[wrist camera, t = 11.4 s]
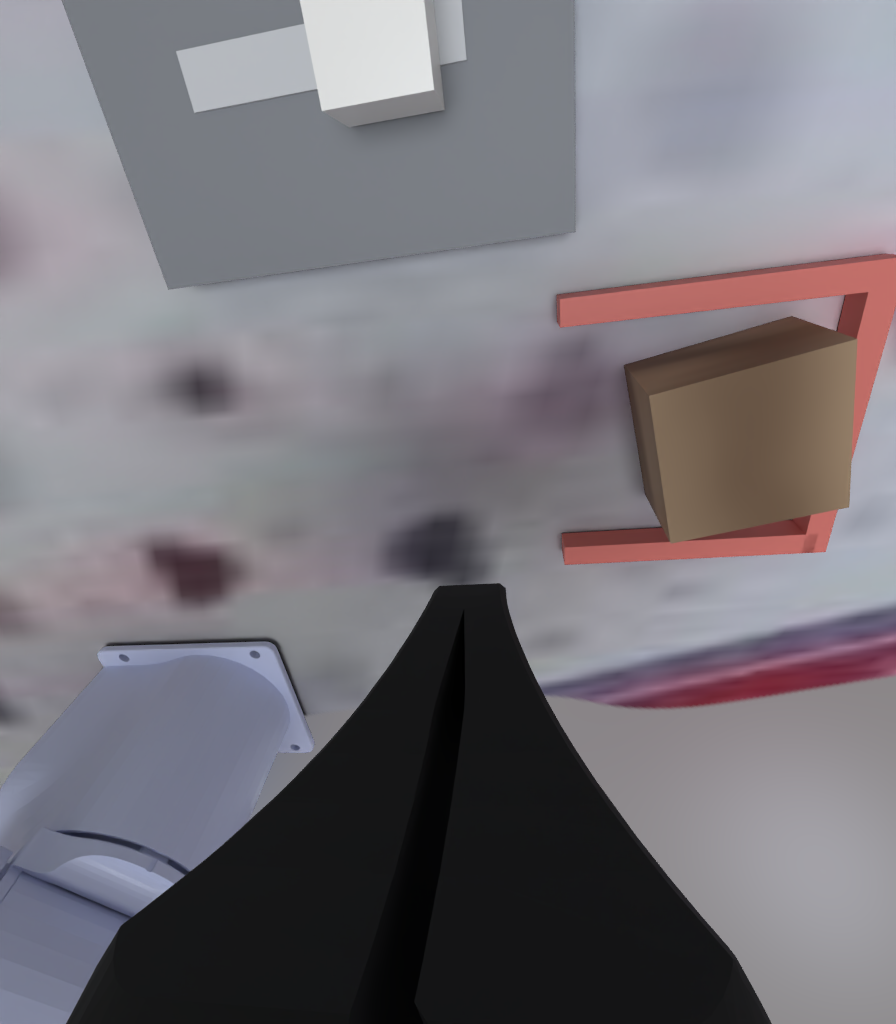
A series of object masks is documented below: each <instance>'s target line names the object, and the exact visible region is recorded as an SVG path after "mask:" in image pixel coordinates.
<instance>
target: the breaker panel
mask: <svg viewBox="0 0 896 1024" xmlns="http://www.w3.org/2000/svg"><path fill="white" fill-rule="evenodd" d="M62 3H63V5H64V8H65V11H66V13H67V16H68V19H69V22H70V24H71V27H72V30H73V32H74V35H75V38H76V41H77V43H78V46H79V49H80V51H81V54H82V57H83V60H84V62H85V65H86V68H87V70H88V73H89V76H90V78H91V81H92V84H93V87H94V89H95V92H96V95H97V97H98V100H99V103H100V106H101V108H102V111H103V114H104V116H105V119H106V122H107V125H108V127H109V130H110V133H111V135H112V138H113V141H114V144H115V146H116V149H117V152H118V154H119V157H120V160H121V163H122V165H123V168H124V171H125V173H126V176H127V179H128V181H129V184H130V187H131V190H132V192H133V195H134V198H135V200H136V203H137V206H138V209H139V211H140V214H141V217H142V219H143V222H144V225H145V228H146V230H147V233H148V236H149V238H150V241H151V244H152V247H153V249H154V252H155V255H156V257H157V260H158V263H159V266H160V268H161V271H162V274H163V276H164V279H165V282H166V284H167V287H168V290H169V289H176V288H183V287H190V286H197V285H204V284H211V283H218V282H225V281H232V280H240V279H247V278H254V277H261V276H268V275H275V274H282V273H289V272H296V271H303V270H310V269H317V268H324V267H332V266H339V265H346V264H353V263H360V262H367V261H374V260H381V259H388V258H395V257H402V256H409V255H416V254H423V253H431V252H438V251H445V250H452V249H459V248H466V247H473V246H480V245H487V244H494V243H501V242H508V241H515V240H523V239H530V238H537V237H544V236H551V235H558V234H565V233H572V232H575V5H574V0H433V3H434V12H435V22H436V31H437V41H438V50H439V60H440V70H441V79H442V89H443V98H444V108H445V110H441V111H436V112H430V113H425V114H419V115H414V116H408V117H403V118H397V119H392V120H386V121H381V122H375V123H370V124H364V125H359V126H353V127H348V126H346V125H344V124H343V123H341V122H339V121H338V120H336V119H334V118H333V117H331V116H329V115H328V114H326V113H324V112H323V111H322V110H321V105H320V99H319V94H318V89H317V84H316V79H315V74H314V69H313V64H312V59H311V54H310V49H309V44H308V39H307V34H306V29H305V24H304V19H303V14H302V9H301V4H300V0H62Z"/></svg>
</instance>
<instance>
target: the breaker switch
mask: <svg viewBox="0 0 896 1024" xmlns="http://www.w3.org/2000/svg"><path fill="white" fill-rule="evenodd" d="M300 4H301V9H302V14H303V19H304V24H305V29H306V34H307V39H308V44H309V49H310V54H311V59H312V64H313V69H314V74H315V79H316V84H317V89H318V94H319V99H320V105H321V110H322V111H323V112H324V113H326V114H328V115H329V116H331V117H333V118H334V119H336V120H338V121H339V122H341V123H343V124H344V125H346V126H348V127H353V126H359V125H364V124H370V123H375V122H381V121H386V120H392V119H397V118H403V117H408V116H414V115H419V114H425V113H430V112H436V111H441V110H445V108H444V98H443V89H442V79H441V70H440V60H439V50H438V41H437V31H436V22H435V12H434V3H433V0H300Z"/></svg>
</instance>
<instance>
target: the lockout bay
mask: <svg viewBox="0 0 896 1024" xmlns="http://www.w3.org/2000/svg"><path fill="white" fill-rule="evenodd" d="M838 295H846V296H845V300H844V305H843V309H842V313H841V317H840V321H839V326H838V330H837V332H839V333H842V334H845V335H848V336H851V337H854V338H857V339H858V340H857V360H856V380H855V399H854V419H853V439H852V457H853V454H854V450H855V447H856V443H857V440H858V436H859V433H860V429H861V426H862V422H863V419H864V415H865V412H866V408H867V405H868V401H869V398H870V394H871V391H872V387H873V384H874V380H875V377H876V373H877V370H878V366H879V363H880V359H881V356H882V352H883V349H884V345H885V342H886V338H887V335H888V332H889V328H890V325H891V321H892V318H893V314H894V311H895V307H896V255H894V254H880V255H872V256H863V257H855V258H847V259H839V260H831V261H823V262H815V263H807V264H799V265H791V266H783V267H775V268H767V269H759V270H751V271H743V272H735V273H727V274H719V275H711V276H703V277H695V278H687V279H679V280H671V281H663V282H655V283H647V284H639V285H631V286H623V287H615V288H607V289H599V290H591V291H583V292H575V293H567V294H559V295H557V322H558V324H559V326H560V328H561V327H569V326H578V325H587V324H595V323H604V322H613V321H621V320H630V319H639V318H647V317H656V316H665V315H673V314H682V313H691V312H699V311H708V310H717V309H725V308H734V307H743V306H751V305H760V304H769V303H777V302H786V301H795V300H803V299H812V298H821V297H829V296H838ZM851 461H852V459H851ZM836 513H837V510H833V511H828V512H823V513H818V514H813V515H808V516H804V517H799V518H794V519H792V520H784V521H779V522H774V523H770V524H765V525H760V526H755V527H750V528H745V529H740V530H735V531H731V532H726V533H721V534H716V535H711V536H706V537H701V538H696V539H692V540H687V541H682V542H677V543H672V544H670V542H669V540H668V538H667V536H666V534H665V532H664V530H663V528H647V529H629V530H612V531H595V532H578V533H562V552H563V558H564V563H565V565H570V564H590V563H611V562H631V561H651V560H672V559H692V558H712V557H733V556H753V555H773V554H793V553H814V552H826V548H827V545H828V541H829V538H830V534H831V531H832V527H833V524H834V520H835V517H836Z"/></svg>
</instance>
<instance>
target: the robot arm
mask: <svg viewBox="0 0 896 1024" xmlns="http://www.w3.org/2000/svg"><path fill="white" fill-rule="evenodd" d="M256 651H257V652H256ZM97 656H98V659H99V660H100V662H101V664H102V665H103V668H102V669H101V671H100V672H99V673H98V674H97V675H96V676H95V677H94V679H93V680H92V681H91V682H90V683H89V684H88V685H87V686H86V688H85V689H84V690H83V691H82V692H81V693H80V694H79V695H78V697H77V698H76V699H75V700H74V701H73V702H72V703H71V704H70V706H69V707H68V708H67V709H66V710H65V711H64V712H63V713H62V715H61V716H60V717H59V718H58V719H57V720H56V721H55V722H54V724H53V725H52V726H51V727H50V728H49V729H48V730H47V731H46V733H45V734H44V735H43V736H42V737H41V738H40V739H39V740H38V742H37V743H36V744H35V745H34V746H33V747H32V748H31V749H30V751H29V752H28V753H27V754H26V755H25V756H24V757H23V759H22V760H21V761H20V762H19V763H18V764H17V765H16V767H15V768H14V769H13V771H12V772H11V773H10V775H9V776H8V778H7V780H6V781H5V783H4V784H3V786H2V788H1V790H0V1024H771V1022H770V1020H769V1018H768V1016H767V1014H766V1012H765V1010H764V1008H763V1006H762V1004H761V1002H760V1000H759V998H758V997H757V995H756V993H755V991H754V989H753V987H752V985H751V984H750V982H749V980H748V978H747V976H746V974H745V973H744V971H743V969H742V967H741V965H740V964H739V962H738V960H737V958H736V957H735V955H734V954H733V953H732V951H731V950H730V949H729V947H728V946H727V945H726V944H725V943H724V942H723V941H722V939H721V938H720V937H719V936H718V935H717V934H716V932H715V931H714V930H713V929H712V928H711V927H710V926H709V924H708V923H707V922H706V921H705V920H704V919H703V918H702V917H701V915H700V914H699V913H698V912H697V910H696V909H695V908H694V907H693V906H692V904H691V903H690V902H689V901H688V900H687V898H685V896H684V895H683V894H682V892H681V891H680V890H679V889H678V888H677V887H676V885H675V884H674V883H673V882H672V881H671V879H670V878H669V877H668V876H667V874H666V873H665V872H664V871H663V869H662V868H661V867H660V865H659V864H658V863H657V862H656V860H655V859H654V858H653V857H652V855H651V854H650V853H649V852H648V850H647V849H646V848H645V847H644V845H643V844H642V843H641V841H640V840H639V839H638V838H637V836H636V835H635V834H634V832H633V831H632V830H631V828H630V827H629V825H628V824H627V823H626V821H625V820H624V819H623V817H622V816H621V814H620V813H619V812H618V810H617V809H616V808H615V806H614V805H613V803H612V802H611V801H610V799H609V798H608V797H607V795H606V794H605V792H604V791H603V790H602V788H601V787H600V786H599V784H598V783H597V782H596V780H595V778H594V777H593V776H592V774H591V772H590V771H589V769H588V768H587V766H586V765H585V763H584V762H583V760H582V759H581V757H580V756H579V754H578V753H577V751H576V750H575V748H574V746H573V745H572V743H571V741H570V740H569V738H568V736H567V735H566V733H565V732H564V730H563V728H562V727H561V725H560V723H559V721H558V720H557V718H556V716H555V714H554V713H553V711H552V709H551V707H550V705H549V704H548V702H547V700H546V698H545V696H544V694H543V692H542V690H541V688H540V686H539V684H538V682H537V680H536V678H535V676H534V674H533V672H532V670H531V668H530V666H529V663H528V661H527V659H526V656H525V654H524V652H523V649H522V647H521V645H520V642H519V640H518V637H517V635H516V632H515V629H514V626H513V623H512V620H511V617H510V613H509V610H508V605H507V599H506V589H505V587H503V586H502V585H501V584H500V583H497V584H475V585H453V586H439V587H438V588H437V589H436V590H435V591H434V593H433V595H432V597H431V599H430V601H429V602H428V604H427V606H426V608H425V610H424V611H423V613H422V615H421V617H420V618H419V620H418V622H417V623H416V625H415V627H414V628H413V630H412V632H411V633H410V635H409V636H408V638H407V639H406V641H405V643H404V644H403V646H402V647H401V649H400V650H399V652H398V653H397V655H396V656H395V658H394V659H393V661H392V662H391V664H390V665H389V667H388V668H387V670H386V671H385V672H384V674H383V675H382V676H381V678H380V679H379V680H378V682H377V683H376V684H375V686H374V687H373V688H372V690H371V691H370V692H369V694H368V695H367V697H366V698H365V699H364V701H363V702H362V703H361V704H360V706H359V707H358V708H357V709H356V711H355V712H354V713H353V714H352V715H351V717H350V718H349V719H348V720H347V721H346V723H345V724H344V725H343V726H342V727H341V729H340V730H339V731H338V732H337V733H336V734H335V735H334V737H333V738H332V739H331V740H330V741H329V742H328V743H327V744H326V746H325V747H324V748H323V749H322V750H321V751H320V752H319V753H318V754H317V755H316V756H315V757H314V758H313V759H312V760H311V761H310V762H309V764H308V765H307V766H306V767H305V768H304V769H303V770H302V771H301V772H300V773H299V774H298V775H297V776H296V777H295V778H294V779H293V780H292V781H291V782H290V783H289V784H288V785H287V786H286V787H285V788H284V789H283V790H282V791H281V792H280V793H279V794H278V795H277V796H276V797H275V798H274V799H273V800H272V801H270V802H269V803H268V804H267V805H266V806H265V807H264V808H263V809H262V810H261V811H260V812H258V813H257V814H256V815H255V816H254V817H253V818H252V819H251V820H249V819H250V817H251V814H252V812H253V810H254V807H255V805H256V803H257V800H258V798H259V796H260V793H261V791H262V788H263V786H264V784H265V781H266V779H267V776H268V774H269V772H270V769H271V767H272V765H273V762H274V760H275V757H276V755H277V753H307V752H310V751H312V750H313V747H314V743H315V742H314V739H313V737H312V734H311V732H310V730H309V727H308V725H307V722H306V719H305V717H304V714H303V712H302V709H301V707H300V704H299V702H298V699H297V697H296V694H295V692H294V690H293V687H292V685H291V682H290V680H289V677H288V675H287V672H286V670H285V667H284V665H283V662H282V660H281V657H280V655H279V652H278V650H277V648H276V646H275V645H274V644H272V643H270V642H265V641H263V642H230V643H198V644H165V645H132V646H105V647H103V648H102V649H101V650H100V651H99V652H98V653H97Z"/></svg>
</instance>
